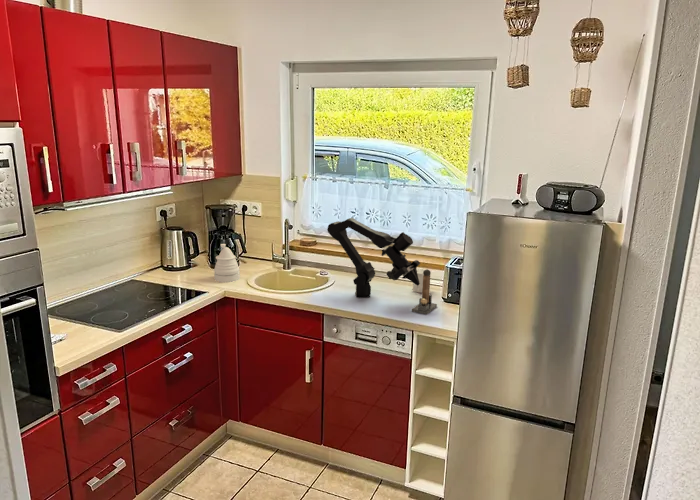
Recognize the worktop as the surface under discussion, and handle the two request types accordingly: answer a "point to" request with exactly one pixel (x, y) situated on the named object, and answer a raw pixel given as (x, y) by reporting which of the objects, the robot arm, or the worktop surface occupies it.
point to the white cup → (420, 277)
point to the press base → (424, 306)
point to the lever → (426, 284)
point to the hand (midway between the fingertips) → (418, 284)
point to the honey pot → (226, 266)
